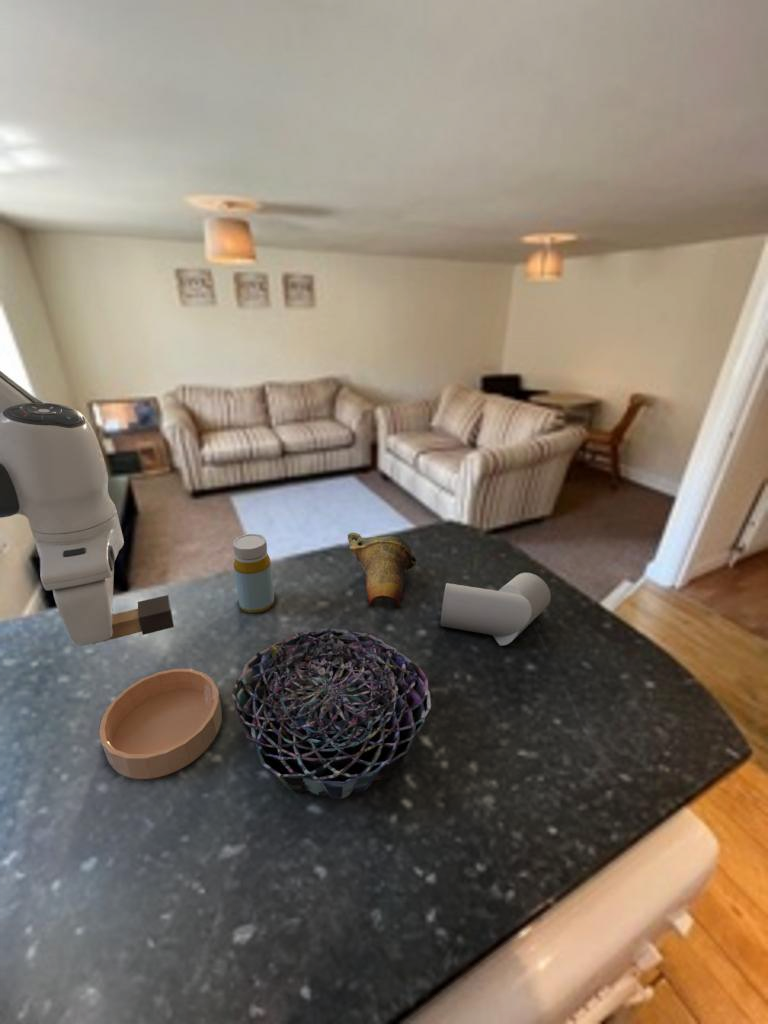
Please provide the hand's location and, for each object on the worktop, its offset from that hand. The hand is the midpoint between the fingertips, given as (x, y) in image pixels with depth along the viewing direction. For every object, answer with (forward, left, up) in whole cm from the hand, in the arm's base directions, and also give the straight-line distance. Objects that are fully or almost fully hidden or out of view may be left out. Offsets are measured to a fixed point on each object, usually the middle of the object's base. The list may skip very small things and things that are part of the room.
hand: (106, 626), depth 61 cm
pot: (+39, +35, -17) cm, 55 cm away
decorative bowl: (+31, -4, -17) cm, 35 cm away
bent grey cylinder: (+60, +22, -17) cm, 66 cm away
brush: (+2, +1, -2) cm, 3 cm away
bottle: (+13, +26, -17) cm, 34 cm away
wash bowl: (+7, -3, -16) cm, 18 cm away
